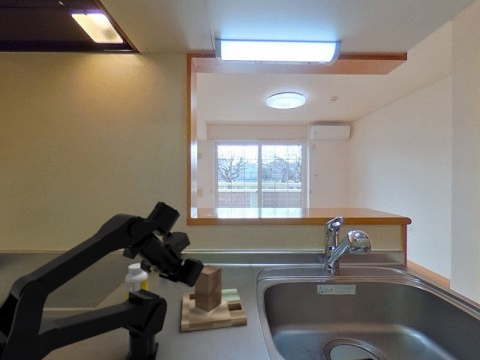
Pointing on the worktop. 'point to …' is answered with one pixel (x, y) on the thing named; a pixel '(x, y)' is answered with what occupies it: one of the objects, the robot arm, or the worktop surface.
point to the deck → (213, 312)
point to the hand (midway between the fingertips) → (187, 280)
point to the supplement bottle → (135, 279)
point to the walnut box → (209, 288)
